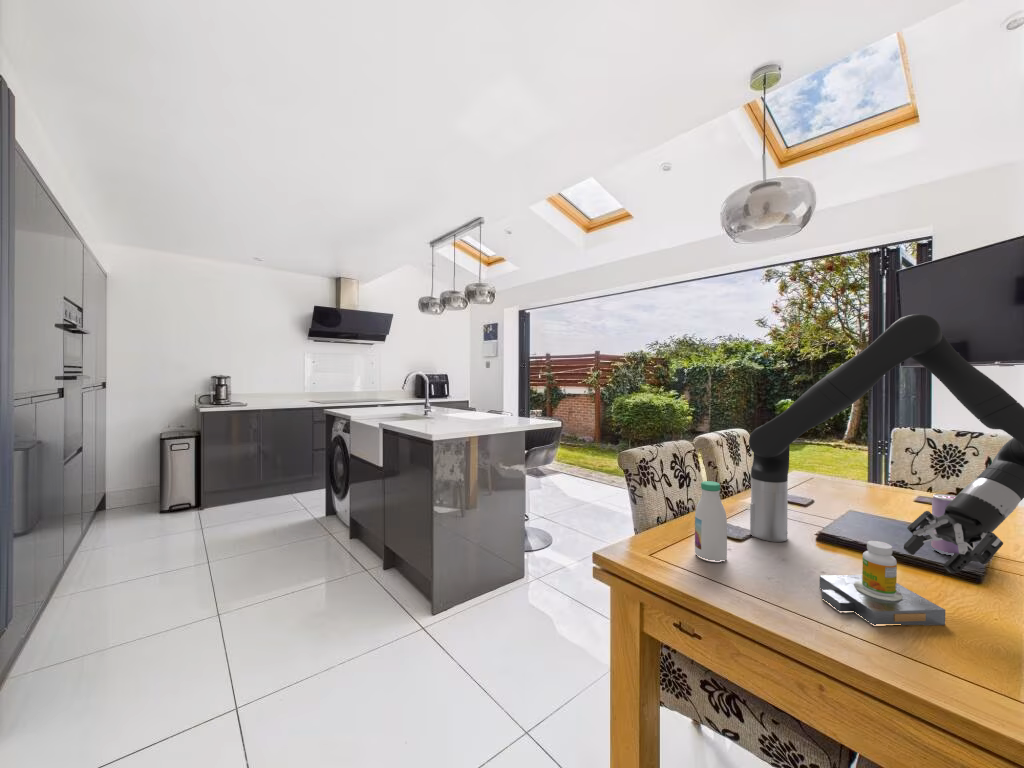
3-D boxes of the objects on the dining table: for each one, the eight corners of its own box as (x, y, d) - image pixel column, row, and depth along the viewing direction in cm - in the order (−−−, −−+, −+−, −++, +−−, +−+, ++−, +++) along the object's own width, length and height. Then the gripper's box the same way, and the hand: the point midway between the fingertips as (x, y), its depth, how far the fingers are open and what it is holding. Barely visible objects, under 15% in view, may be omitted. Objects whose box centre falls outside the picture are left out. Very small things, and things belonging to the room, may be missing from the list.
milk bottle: (730, 556, 112) (730, 482, 111) (721, 566, 106) (721, 488, 105) (700, 548, 117) (700, 477, 116) (690, 557, 111) (690, 483, 111)
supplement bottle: (855, 584, 90) (855, 539, 90) (878, 582, 91) (878, 538, 90) (879, 597, 85) (880, 550, 85) (903, 596, 85) (904, 549, 85)
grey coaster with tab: (859, 627, 81) (859, 610, 81) (806, 589, 95) (806, 574, 95) (945, 625, 81) (946, 608, 81) (880, 587, 95) (881, 573, 95)
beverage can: (970, 558, 108) (971, 500, 108) (942, 556, 110) (943, 499, 109) (951, 548, 114) (952, 493, 114) (925, 547, 115) (926, 493, 115)
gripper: (934, 483, 94) (884, 535, 95) (1010, 503, 80) (950, 564, 80) (958, 506, 95) (907, 557, 95) (1037, 530, 80) (977, 590, 81)
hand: (927, 560), depth 88 cm, fingers open, 8 cm apart
